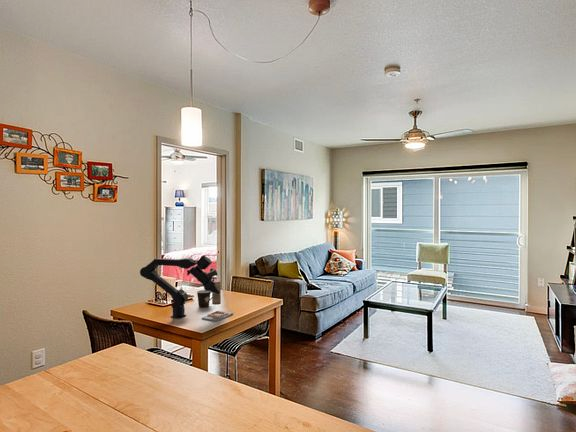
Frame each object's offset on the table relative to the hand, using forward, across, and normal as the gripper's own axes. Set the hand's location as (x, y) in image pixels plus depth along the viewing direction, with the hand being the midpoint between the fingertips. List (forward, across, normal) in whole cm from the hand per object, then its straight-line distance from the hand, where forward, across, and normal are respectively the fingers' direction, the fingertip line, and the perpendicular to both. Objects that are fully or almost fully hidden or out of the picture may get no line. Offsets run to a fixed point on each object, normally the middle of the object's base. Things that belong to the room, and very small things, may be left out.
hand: (218, 292), depth 208 cm
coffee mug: (+5, +22, +15) cm, 27 cm away
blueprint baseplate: (+9, -3, +10) cm, 14 cm away
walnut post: (+4, 0, +6) cm, 7 cm away
